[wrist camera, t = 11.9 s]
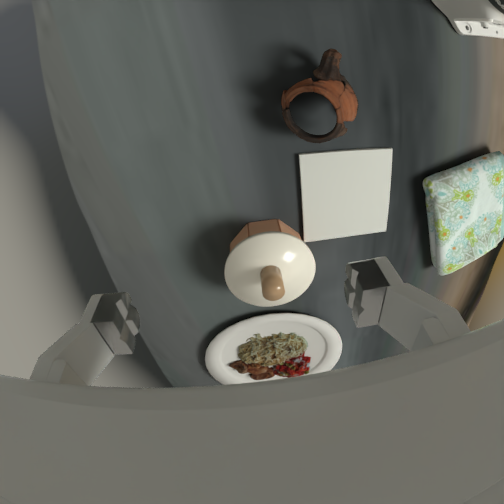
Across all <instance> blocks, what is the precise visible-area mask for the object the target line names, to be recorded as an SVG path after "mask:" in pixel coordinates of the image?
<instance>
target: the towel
mask: <svg viewBox="0 0 504 504" xmlns="http://www.w3.org/2000/svg"><path fill="white" fill-rule="evenodd" d="M422 184H423V189H424V191H425V194H426V199H425V201H426V208H427V218H428V228H429V238H430V252H431V260H432V263H433V266H434V267H437V272H438V275H447V274H450V273H452V272H454V271H456V270H458V269H460V268H462V267H464V266H465V265H467V264H469V263H470V262H472V261H474V260H476V259H478V258H479V257H481V256H482V255H484V254H485V253H487V252H488V251H490V250H491V249H493V248H495V247H496V246H497V244H498V243H499V242H500V241H501V240H502V239H503V236H504V155H503V154H502V153H501V152H500V151H497V152H494V153H489V154H485V155H483V156H480V157H477V158H475V159H472V160H470V161H468V162H465V163H462V164H461V165H458V166H455V167H453V168H450V169H447V170H444V171H441V172H438V173H436V174H433V175H430V176H428V177H426V178H425V179H424V180H423V183H422Z"/></svg>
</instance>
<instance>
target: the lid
mask: <svg viewBox="0 0 504 504" xmlns="http://www.w3.org/2000/svg"><path fill="white" fill-rule="evenodd" d="M314 274H315V261H314V257H313V255H312V252H311V250H310V249H309V247H308V246H307V245H306V244H305V243H304V242H303V241H302V240H301V239H299V238H297V237H296V236H293V235H291V234H288V233H284V232H278V231H269V232H262V233H258V234H254V235H252V236H249V237H247V238H246V239H244V240H242V241H241V242H240V243H238V244H237V245H236V246H235V247H234V248H233V249H232V251H231V252H230V253H229V255H228V257H227V260H226V263H225V281H226V284H227V286H228V288H229V289H230V291H231V292H232V293H233V294H234V295H235V296H236V297H237V298H239V299H240V300H242V301H244V302H246V303H249V304H252V305H256V306H276V305H281V304H285V303H287V302H290V301H292V300H294V299H295V298H297V297H298V296H300V295H301V294H302V293H303V292H304V291H305V290H306V289H307V288H308V287H309V286H310V284H311V282H312V280H313V278H314Z"/></svg>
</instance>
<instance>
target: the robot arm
mask: <svg viewBox="0 0 504 504" xmlns="http://www.w3.org/2000/svg"><path fill="white" fill-rule="evenodd" d="M432 2H433V3H434V4H435V5H436V6H437V7H438V8H439V9H440V10H441V11H442V12H443V13H444V14H445V15H446V16H447V17H448V19H449V20H450V22H451V24H452V26H453V27H454V29H455V30H456V32H457V33H458V34H460V35H472V36H484V37H494V38H502V39H504V0H432ZM465 27H466V28H465ZM346 274H347V277H348V278H347V279H346V281H345V285H344V291H345V298H346V301H347V304H348V306H349V307H351V308H352V317H353V319H354V322H355V324H356V327H357V328H360V327H365V326H371V325H376V324H379V326H380V327H381V328H383V329H384V330H385V331H386V332H388V333H389V334H390V335H391V336H393V337H394V338H395V339H396V340H398V341H399V342H400V343H401V344H402V345H404V346H405V347H406V348H407V349H409V350H410V352H407V353H404V354H400V355H396V356H393V357H389V358H385V359H381V360H377V361H373V362H368V363H364V364H360V365H355V366H351V367H346V368H341V369H336V370H331V371H326V372H320V373H315V374H309V375H303V376H296V377H290V378H283V379H276V380H268V381H259V382H250V383H241V384H230V385H217V386H201V387H178V388H120V387H98V386H91V385H92V383H93V382H94V381H95V379H96V378H97V377H98V376H99V375H100V373H101V372H102V371H103V370H104V368H105V367H106V366H107V364H108V363H109V362H110V361H111V359H112V358H113V357H114V355H116V354H133V351H134V347H135V343H136V339H135V337H134V336H135V335H136V334H137V333H138V332H139V328H140V317H139V313H138V311H137V309H136V308H135V307H134V306H132V305H131V301H132V299H131V297H130V295H129V294H128V293H126V292H120V293H107V294H97V295H93V296H92V297H91V298H90V301H89V303H88V305H87V307H86V309H85V311H84V314H83V316H82V318H81V320H80V323H79V324H75V325H74V326H73V327H72V328H71V329H70V330H68V332H66V333H65V334H64V335H63V336H62V337H61V338H59V339H58V340H57V341H56V342H55V343H54V344H53V345H52V346H51V347H49V348H48V349H47V350H46V351H45V352H44V353H43V354H42V355H41V356H40V357H39V358H38V360H37V363H36V365H35V367H34V370H33V372H32V375H31V377H30V380H29V379H23V378H17V377H11V376H5V375H0V504H504V319H502V320H500V321H497V322H495V323H492V324H490V325H488V326H485V327H483V328H480V329H478V330H475V331H472V332H471V331H470V330H469V328H468V326H467V325H466V323H465V322H464V320H463V318H462V317H461V315H460V314H459V312H458V311H457V309H455V308H453V307H451V306H449V305H448V304H446V303H444V302H442V301H440V300H438V299H437V298H435V297H433V296H431V295H429V294H427V293H426V292H424V291H422V290H420V289H418V288H416V287H414V286H412V285H410V284H409V283H403V281H402V280H401V278H400V277H399V275H398V274H397V272H396V271H395V269H394V268H393V266H392V265H391V263H390V262H389V260H388V259H387V257H385V256H383V257H378V258H373V259H369V260H363V261H357V262H351V263H347V265H346Z"/></svg>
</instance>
